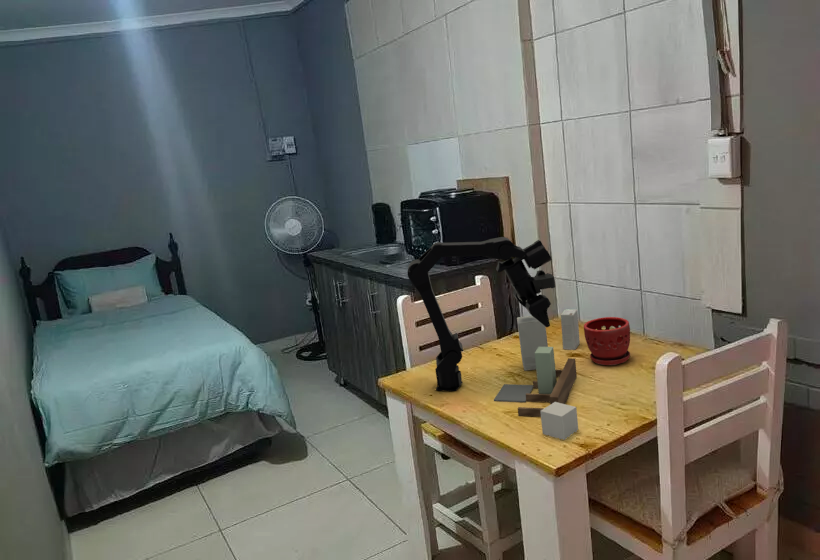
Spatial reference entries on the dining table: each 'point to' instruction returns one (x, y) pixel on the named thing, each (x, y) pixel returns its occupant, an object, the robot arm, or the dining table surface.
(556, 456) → the dining table surface
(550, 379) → the sage block
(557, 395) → the lane rack
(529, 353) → the skincare box
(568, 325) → the skincare box
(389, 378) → the dining table surface
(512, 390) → the slate mat
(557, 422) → the light grey cube
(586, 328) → the plant pot
